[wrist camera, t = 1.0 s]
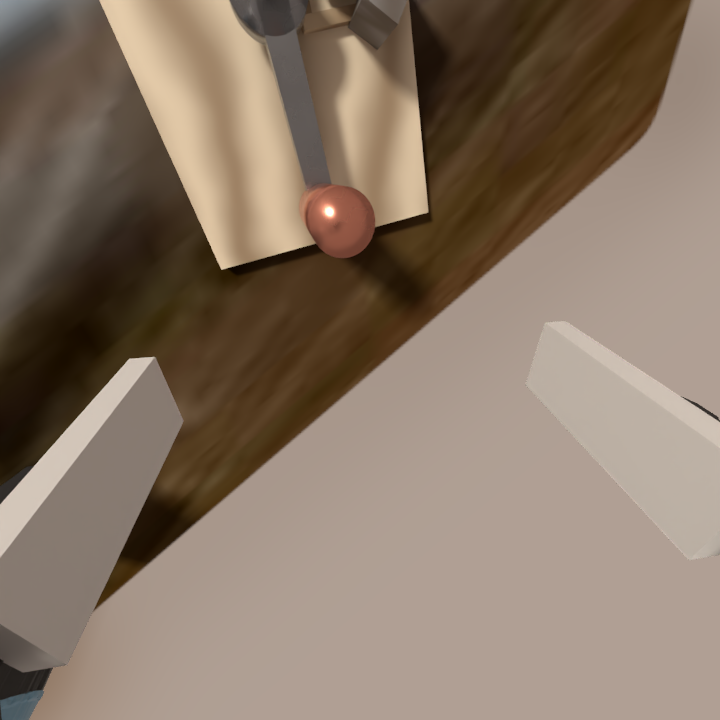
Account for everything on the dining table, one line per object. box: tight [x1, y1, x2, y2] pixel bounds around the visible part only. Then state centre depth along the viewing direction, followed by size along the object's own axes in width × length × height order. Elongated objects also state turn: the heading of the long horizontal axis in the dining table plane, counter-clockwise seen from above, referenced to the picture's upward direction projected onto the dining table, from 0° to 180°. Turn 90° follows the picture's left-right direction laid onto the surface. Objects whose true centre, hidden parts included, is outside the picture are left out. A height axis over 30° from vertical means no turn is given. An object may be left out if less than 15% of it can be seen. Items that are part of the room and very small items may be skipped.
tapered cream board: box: [100, 0, 428, 270], centre depth 24 cm, size 21×21×6 cm
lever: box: [229, 0, 375, 258], centre depth 19 cm, size 5×22×11 cm, turn 12°
